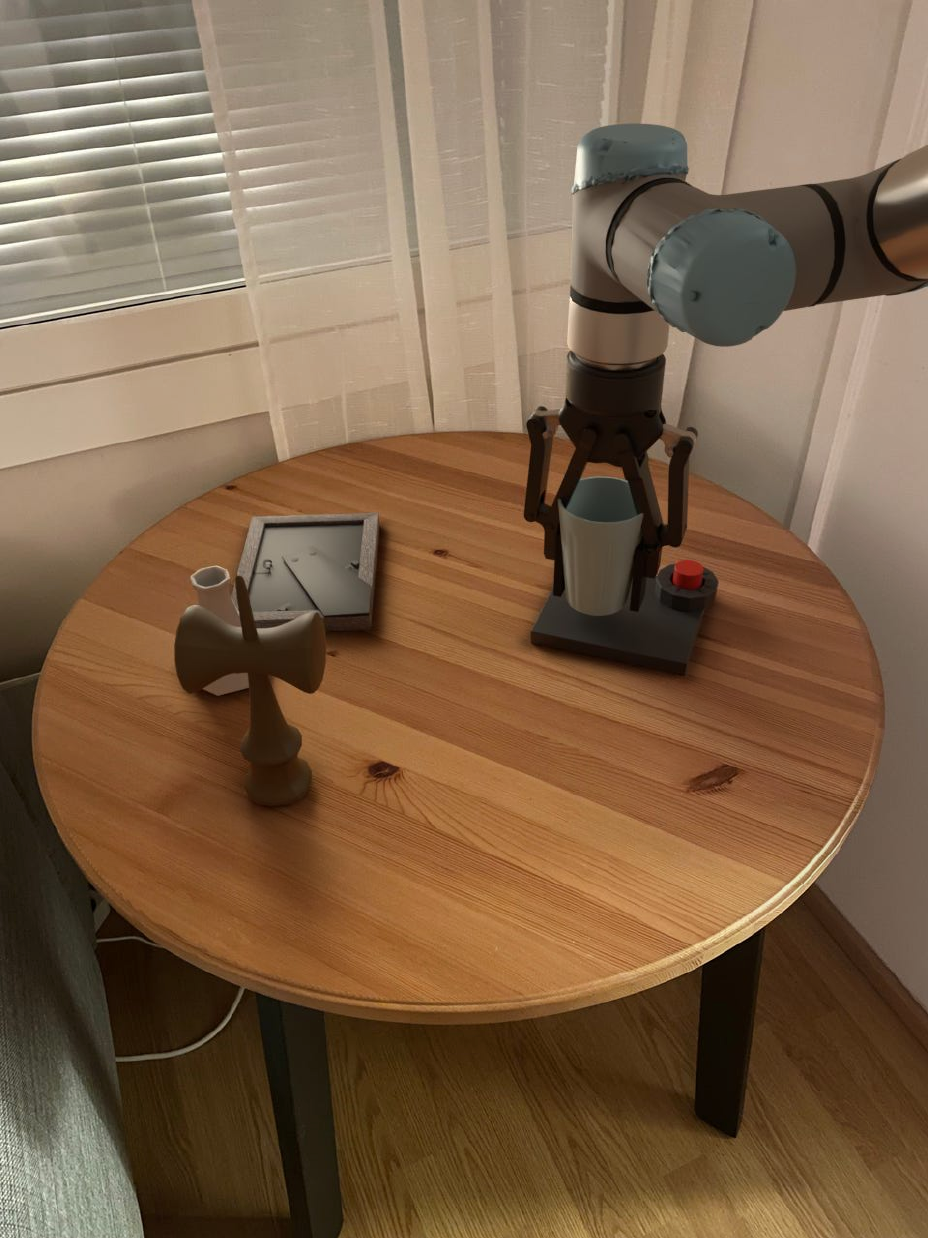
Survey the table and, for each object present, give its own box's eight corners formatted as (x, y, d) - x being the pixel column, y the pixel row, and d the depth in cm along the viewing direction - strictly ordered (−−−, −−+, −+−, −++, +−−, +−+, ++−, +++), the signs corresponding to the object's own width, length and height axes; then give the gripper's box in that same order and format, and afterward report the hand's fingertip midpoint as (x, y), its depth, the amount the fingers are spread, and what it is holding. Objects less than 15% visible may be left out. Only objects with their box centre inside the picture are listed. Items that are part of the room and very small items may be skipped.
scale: (718, 594, 96) (722, 568, 94) (693, 678, 86) (698, 651, 85) (568, 566, 100) (569, 541, 98) (530, 643, 91) (530, 616, 89)
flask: (174, 666, 89) (149, 574, 83) (245, 633, 93) (227, 542, 87) (213, 708, 85) (191, 614, 79) (287, 671, 88) (271, 578, 82)
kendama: (228, 756, 80) (179, 548, 68) (347, 760, 80) (319, 550, 67) (208, 814, 75) (151, 601, 63) (334, 819, 75) (302, 604, 63)
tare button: (703, 577, 94) (705, 562, 92) (698, 593, 92) (700, 577, 91) (675, 572, 94) (677, 557, 93) (670, 588, 92) (672, 572, 91)
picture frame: (371, 629, 93) (379, 524, 107) (369, 612, 92) (378, 508, 106) (227, 634, 93) (254, 529, 107) (223, 617, 91) (251, 513, 106)
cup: (561, 568, 94) (566, 471, 88) (643, 579, 93) (654, 481, 86) (546, 616, 89) (550, 516, 82) (633, 629, 87) (644, 528, 81)
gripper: (752, 346, 76) (713, 592, 90) (511, 319, 82) (510, 553, 96) (738, 387, 71) (699, 641, 85) (480, 354, 76) (484, 598, 90)
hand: (598, 594), depth 90 cm, fingers closed on cup, 6 cm apart
